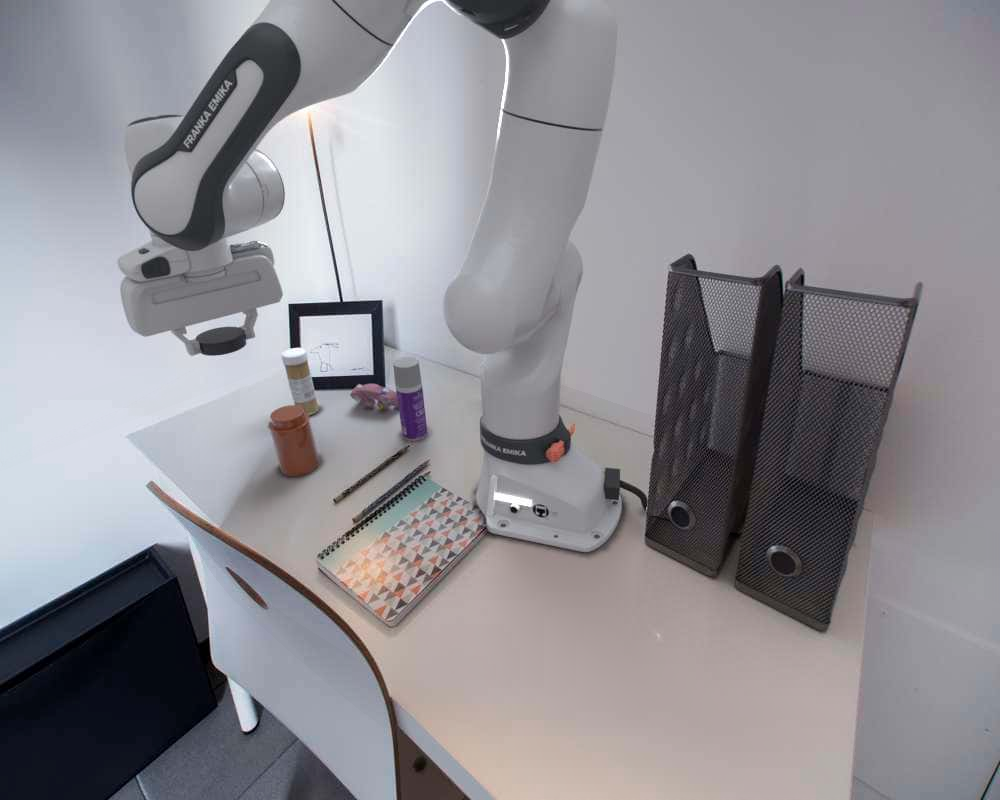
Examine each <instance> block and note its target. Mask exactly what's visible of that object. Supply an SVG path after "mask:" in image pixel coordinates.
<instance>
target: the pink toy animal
mask: <svg viewBox="0 0 1000 800" xmlns="http://www.w3.org/2000/svg"><path fill="white" fill-rule="evenodd" d="M350 397H351V398H352V399H353V400H354V401H355V402H357V403H361V404H362V405H364V406H365V407H367V408H374V407H375V405H376V406H377V407H378V408H379V409H381V410H388V408H389V407H398V400H397V393H396V391H395V390H393V389H390V388H389V387H384V386H381V385H379V384H376V383H366V384H360V383H358V384H357V385H356V386H355V387H354V388H353V389H352V390H351V393H350ZM376 403H377V404H376Z"/></svg>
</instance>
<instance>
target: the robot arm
mask: <svg viewBox="0 0 1000 800" xmlns="http://www.w3.org/2000/svg"><path fill="white" fill-rule="evenodd" d="M438 1H439V0H269V2H268V3H267V5H266V6H265V7H264V9H263V10H262V11H261V13H260V14H259V15H258V17H256V18H255V20H254V21H253V23H251V25H250V26H249V27H248V28H247V29H246V30H245V31H244V32H243V34H242V35H241V36H240V37H239V38H238V40H237V41H236V42H235V43H234V45H232V47H231V48H230V49H229V51H228V52H227V53H226V54H225V56H224V57H223V58H222V60H221V61H220V63H219V64H218V66H217V67H216V69H214V72H213V73H212V74H211V76H210V78H209V79H208V80H207V82H206V83H205V85H204V86H203V88H202V89H201V91H200V93H199V94H198V95H197V97H196V99H195V100H194V102H193V103H192V105H191V106H190V108H189V109H188V111H187V112H186V114H185V115H182V114H161V115H160V114H159V115H157V116H148V117H144V118H139V119H136V120H134V121H131V122H130V123H128V125H127V126H126V127H125V128H124V129H123V147H124V154H125V158H126V163H127V166H128V167H127V168H128V169H129V170H128V171H129V174H130V177H131V182H130V195H131V201H132V205H133V207H134V209H135V213H136V214H137V216H138V218H139V219H140V221H141V222H142V223H143V225H144V226H145V227H146V228H147V229H148V231H149V236H150V239H151V240H150V241H148V242H147V243H144V244H143V245H141V246H138V247H137V248H134V249H133V250H131V251H129V252H126V253H125V254H122V255H121V256H119V257H118V258H117V261H116V262H117V266H118V269H119V270H120V272H121V273H122V275H124V276H125V277H124V278H122V280H121V283H120V286H119V287H120V289H119V290H120V291H119V292H120V297H121V298H120V299H121V303H122V307H123V311H124V314H125V318H126V321H127V324H128V326H129V327H130V329H131V330H132V331H133V332H134V333H136V334H137V335H139V336H142V337H143V338H144V337H145V338H148V337H151V336H155V335H158V334H162V333H167V332H171V334H172V335H174V336H175V337H176V338H177V339H178V340H180V341H181V343H184V346H185V349H186V352H187V354H188V355H189V356H190V357H194V356H196V355H197V356H198V355H200V354H201V353H202V349H200V347H201V346H200V343H199V342H198V341H196V340H195V338H194V339H189V338H187V337H186V336H184V335H187V334H188V332H187V329H186V327H189V326H193V325H198V324H201V323H205V322H209V321H212V320H216V319H221V318H224V317H228V316H231V315H236V314H239V313H242V314H243V315H245V319H244V323H243V325H240V326H238V327H239V328H241V329H242V330H243V331H244V335H245V339H246V341H247V340H251V339H254V338H256V333H255V329H254V328H255V325H256V322H257V319H258V316H259V314H258V310H257V309H258V308H262V307H266V306H271V305H274V304H277V303H278V304H279V303H280V302H281V300H282V298H283V296H284V292H283V289H282V285H281V281H280V280H279V276H278V273H277V272H276V269H275V267H274V265H275V258H274V253H273V250H272V248H271V246H269V245H268V244H267V243H264V242H261V241H259V240H252V241H251V240H250V241H249V242H245V243H244V242H242V243H236V244H235V243H234V244H230V242H229V237H233V236H235V235H238V234H241V233H244V232H246V231H250V230H251V229H255V228H257V227H260V226H262V225H265V224H268V223H269V222H271V221H272V220H274V219H276V218H277V217H278V216H279V215H280V213H281V212H282V210H283V208H284V205H285V200H286V199H285V198H286V192H285V185H284V181H283V177H282V175H281V173H280V172H279V169H278V168H277V167H276V165H275V163H274V162H273V161H272V160H271V159H270V158H269V156H267V155H266V154H265V153H264V152H262V151H261V150H259V149H257V148H258V146H259V145H260V143H262V141H263V139H264V138H265V137H266V135H267V134H268V133H269V132H270V131H271V130H272V129H273V128H274V127H275V126H276V125H277V124H279V123H280V122H281V121H283V120H284V119H285V118H287V117H289V116H290V115H292V114H294V113H297V112H298V111H300V110H303V109H306V108H308V107H311V106H313V105H316V104H319V103H322V102H326V101H329V100H332V99H336V98H340V97H343V96H345V95H349V94H352V93H353V92H355V91H357V90H358V89H359V88H360V87H361V86H362V85H363V84H364V83H365V82H367V80H369V79H370V78H371V76H373V75H374V73H376V71H377V70H378V69H379V68H381V66H382V65H383V63H384V62H385V61H386V59H388V57H389V56H390V54H391V52H392V51H394V48H395V47H396V45H397V43H398V42H399V41H400V40H401V38H402V36H403V35H404V33H405V32H406V30H407V29H408V27H409V26H410V24H411V23H412V21H414V19H415V17H417V15H418V14H420V12H421V11H422V10H423V9H424V8H426V7H427V6H428V5H430V4H432V3H433V2H438ZM441 1H442V2H443V3H444V4H445V5H446V6H447V7H448V8H449V9H450V10H451V11H453V12H454V13H456V14H457V15H458V16H460V17H462V18H464V19H466V20H468V21H470V23H473V24H475V25H477V26H478V27H480V28H482V29H483V30H485V31H486V32H488V33H489V34H491V35H493V36H494V37H496V38H498V39H501V41H502V43H503V46H504V50H505V59H506V61H505V62H506V63H505V65H506V66H505V80H504V87H503V92H502V93H503V94H502V99H501V105H500V108H501V109H500V113H499V120H498V127H497V133H496V140H495V146H494V154H493V160H492V168H491V173H490V179H489V183H488V188H487V190H486V191H487V192H486V194H485V199H484V202H483V204H482V207H481V211H480V213H479V216H478V220H477V221H476V225H475V227H474V231H473V233H472V236H471V240H470V242H469V245H468V248H467V250H466V253H465V255H464V258H463V261H462V262H461V265H460V267H459V268H458V271H457V272H456V274H455V276H454V277H453V279H452V280H451V282H450V283H449V284H448V286H447V288H446V289H445V292H444V295H443V300H442V314H443V318H444V322H445V324H446V326H447V329H448V331H449V332H450V334H451V335H452V337H453V338H454V339H455V340H456V341H457V342H458V343H459V344H460V345H461V346H462V347H464V348H465V349H467V350H469V351H470V352H473V353H476V354H479V355H485V357H484V360H483V362H482V365H481V370H480V377H479V378H480V395H481V416H480V419H479V439H480V445H481V447H482V461H481V473H480V477H479V483H478V486H477V489H476V492H475V502H476V505H477V507H478V509H479V510H480V511H481V513H482V515H483V516H484V517H485V526H486V529H487V531H488V532H489V533H490V534H493V535H498V536H503V537H508V538H513V539H518V540H522V541H526V542H532V543H537V544H541V545H547V546H552V547H556V548H561V549H566V550H571V551H575V552H581V553H591V552H593V551H595V550H597V549H598V548H600V547H602V546H603V545H604V544H605V543H606V542H607V541H608V540H609V539H610V538H611V536H612V535H613V533H614V532H615V530H616V528H617V526H618V524H619V522H620V520H621V516H622V511H623V501H622V497H621V494H620V493H621V489H622V490H626V491H627V492H629V493H631V494H634V495H635V496H636V497H638V498H639V500H640V503H641V507H642V508H643V510H644V511H645V512H646V507H647V500H648V497H647V495H646V494H645V492H643V491H642V490H641V489H640V488H639V487H637V486H635V485H632V484H630V483H628V482H626V481H624V480H622V479H621V469H620V468H615V467H605V468H603V467H602V466H601V465H600V464H598V462H596V461H595V460H594V459H593V458H591V457H590V456H589V455H588V454H587V453H586V452H584V451H583V450H582V449H581V448H580V447H578V446H577V445H576V444H575V443H574V442H572V438H571V437H572V436H573V434H574V433H575V431H576V428H575V427H576V423H573V424H572V425H570V427H569V429H568V428H567V427H566V425H565V423H564V421H563V418H562V417H561V414H560V409H561V408H560V405H561V380H562V370H563V363H564V358H565V353H566V348H567V344H568V339H569V335H570V331H571V325H572V320H573V314H574V307H575V302H576V297H577V294H578V290H579V287H580V285H581V282H582V279H583V274H584V263H583V259H582V256H581V254H580V251H579V250H578V248H577V247H576V245H575V244H574V243H573V242H572V241H571V240H569V238H570V236H571V234H572V231H573V229H574V227H575V225H576V223H577V221H578V219H579V216H580V215H581V213H582V211H583V209H584V207H585V205H586V202H587V197H588V194H589V190H590V185H591V181H592V178H593V174H594V169H595V165H596V161H597V157H598V152H599V149H600V144H601V141H602V137H603V132H604V128H605V123H606V119H607V114H608V110H609V106H610V100H611V95H612V88H613V81H614V75H615V65H616V56H617V41H618V24H617V19H616V15H615V13H614V11H613V9H612V8H611V6H610V4H609V3H608V2H607V1H606V0H441ZM736 535H742V534H741V531H739V532H738V533H737V534H736Z"/></svg>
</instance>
